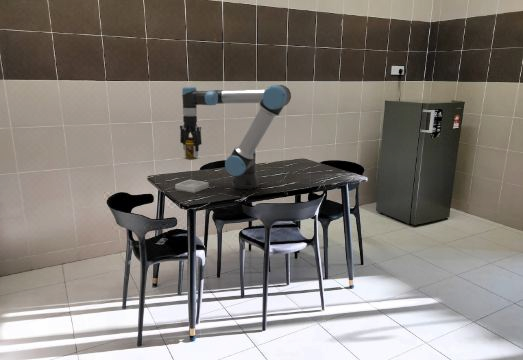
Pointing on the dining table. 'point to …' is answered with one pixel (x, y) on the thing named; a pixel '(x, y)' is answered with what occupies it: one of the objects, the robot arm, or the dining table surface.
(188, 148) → the condiment
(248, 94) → the robot arm
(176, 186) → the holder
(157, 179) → the dining table surface
